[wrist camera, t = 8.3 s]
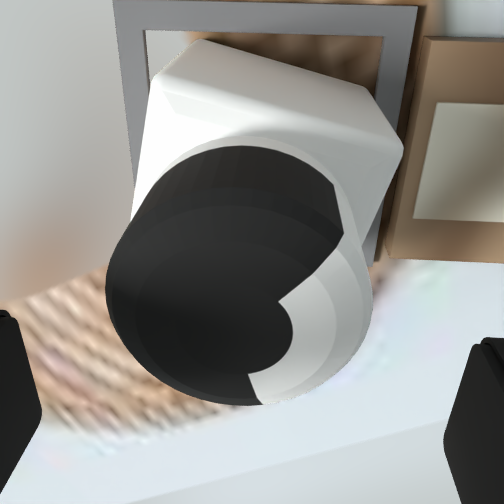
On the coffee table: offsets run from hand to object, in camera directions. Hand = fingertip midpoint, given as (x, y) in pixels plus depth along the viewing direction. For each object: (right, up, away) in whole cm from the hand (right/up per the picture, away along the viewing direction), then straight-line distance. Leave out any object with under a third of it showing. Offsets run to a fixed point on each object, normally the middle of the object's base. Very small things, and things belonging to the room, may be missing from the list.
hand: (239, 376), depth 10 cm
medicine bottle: (+1, +7, +11) cm, 13 cm away
